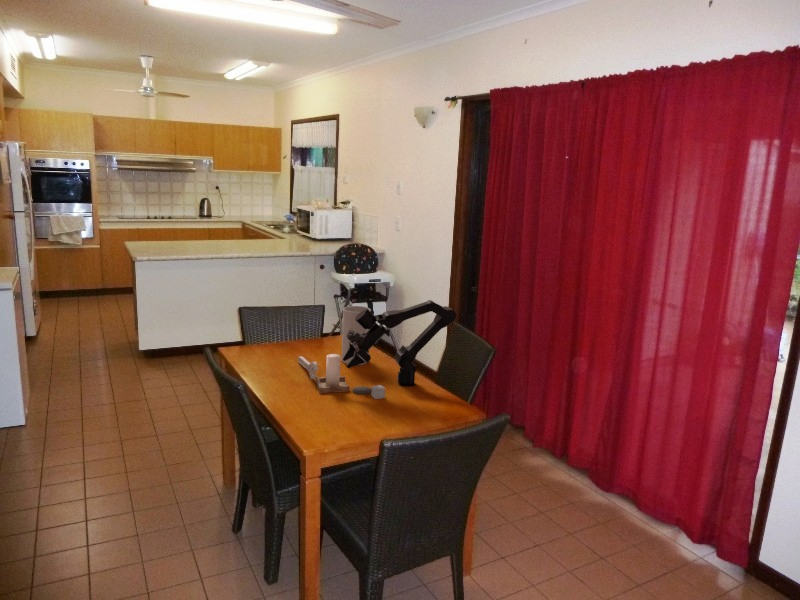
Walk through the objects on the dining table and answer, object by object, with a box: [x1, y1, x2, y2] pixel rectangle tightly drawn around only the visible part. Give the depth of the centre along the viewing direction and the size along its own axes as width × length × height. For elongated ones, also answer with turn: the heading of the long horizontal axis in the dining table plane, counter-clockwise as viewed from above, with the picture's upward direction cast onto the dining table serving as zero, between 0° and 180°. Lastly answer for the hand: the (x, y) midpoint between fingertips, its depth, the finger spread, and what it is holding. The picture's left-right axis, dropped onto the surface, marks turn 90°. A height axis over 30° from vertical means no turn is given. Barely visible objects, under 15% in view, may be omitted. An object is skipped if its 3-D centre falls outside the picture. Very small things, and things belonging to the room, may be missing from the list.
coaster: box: [351, 386, 372, 395], centre depth 233 cm, size 8×8×1 cm
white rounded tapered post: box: [325, 353, 342, 387], centre depth 234 cm, size 6×6×12 cm
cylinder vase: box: [341, 305, 372, 366], centre depth 266 cm, size 12×12×25 cm
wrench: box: [297, 355, 319, 380], centre depth 250 cm, size 8×2×30 cm
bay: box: [315, 375, 350, 394], centre depth 235 cm, size 12×12×2 cm
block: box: [370, 384, 386, 400], centre depth 227 cm, size 4×4×4 cm
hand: (345, 363), depth 235 cm, fingers open, 9 cm apart
